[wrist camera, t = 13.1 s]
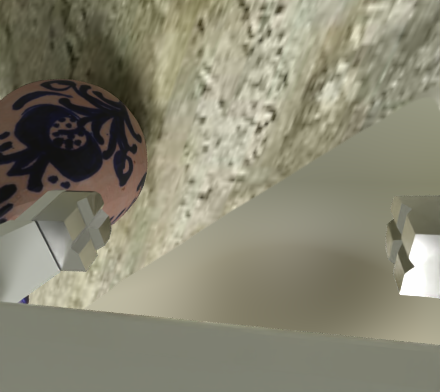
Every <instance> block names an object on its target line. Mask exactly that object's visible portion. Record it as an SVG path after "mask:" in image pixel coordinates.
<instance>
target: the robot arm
mask: <svg viewBox="0 0 440 392" xmlns="http://www.w3.org/2000/svg"><path fill="white" fill-rule="evenodd" d="M103 206H104V201H103V199H102V197H101V194H99V193H98V192H96V191H72V190H67V191H66V190H52V191H48V192H47V193H45V194H44V195H43V196H42V197H41V198H40V199H38V200H37V201H36V202H35V203H34V204H33V205H32V206H30V207H29V208H28V209H27V210H26V211H25V212H24V213H22V214H21V215H20V216H19V217H18V218H17V219H15V220H9V221H7V222H5V223H2V224H0V392H440V345H435V344H425V343H413V342H404V341H394V340H383V339H373V338H363V337H353V336H343V335H333V334H323V333H313V332H304V331H294V330H283V329H274V328H263V327H254V326H245V325H235V324H225V323H214V322H204V321H194V320H184V319H173V318H164V317H154V316H144V315H133V314H123V313H113V312H103V311H93V310H83V309H73V308H63V307H53V306H43V305H33V304H23V303H18V302H19V301H20V300H22V299H23V298H25V297H26V296H27V295H29V294H30V293H32V292H33V291H34V290H36V289H37V288H39V287H40V286H41V285H43V284H44V283H46V282H47V281H48V280H50V279H51V278H53V277H54V276H55V275H57V274H58V273H60V271H83V272H86V271H87V270H88V268H89V267H90V266H91V264H92V263H93V261H94V260H95V259H96V257H97V256H98V255H97V250H98V249H100V248H101V247H103V246H105V244H106V243H107V241H108V240H109V238H110V234H111V221H110V218H109V215H107V214H106V213H105V212H104V211H103V210H102V208H103ZM391 213H392V216H393V218H394V219H393V220H392V221H390V222H389V223H388V224H387V231H386V251H387V255H388V259H389V260H390V261H391V262H392V263H394V264H395V267H394V271H393V275H394V278H395V280H396V284H397V287H398V290H399V293H400V294H404V295H414V296H424V297H434V298H440V196H394V199H393V201H392V205H391Z"/></svg>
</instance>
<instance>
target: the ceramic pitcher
mask: <svg viewBox="0 0 440 392" xmlns="http://www.w3.org/2000/svg"><path fill="white" fill-rule="evenodd" d="M146 174H147V149H146V143H145V139H144V136H143V133H142V131H141V128H140V126H139V124H138V122H137V120H136V119H135V117H134V116H133V115H132V113H131V112H130V111H129V109H128V108H127V107H126V106H125V105H124V104H123V103H122V102H121V101H120V100H119V99H117V98H116V97H115V96H114V95H113V94H111V93H109V92H108V91H106V90H104V89H102V88H101V87H99V86H96V85H92V84H89V83H86V82H82V81H77V80H68V79H53V80H41V81H37V82H33V83H29V84H26V85H24V86H22V87H20V88H18V89H15V90H14V91H12V92H11V93H9V94H8V95H7V96H5V97H4V98H3V99H2V100H0V224H2V223H5V222H7V221H9V220H15V219H17V218H18V217H19V216H20V215H21V214H22V213H24V212H25V211H26V210H27V209H28V208H29V207H30V206H32V205H33V204H34V203H35V202H36V201H37V200H38V199H40V198H41V197H42V196H43V195H44V194H45V193H47V192H48V191H52V190H66V191H67V190H72V191H96V192H98V193H99V194H101V197H102V199H103V201H104V206H103V208H102V210H103V211H104V212H105V213H106V214H107V215H109V218H110V221H111V225H113V224H114V223H115V222H116V221H117V220H118V219H120V218H121V217H122V216H123V215H124V214H125V213H126V212H127V211H128V209H129V208H130V207H131V206H132V204H133V203H134V202H135V201H136V199H137V197H138V196H139V194H140V192H141V190H142V188H143V186H144V182H145V178H146ZM18 303H23V304H28V303H29V295H27V296H26V297H25V298H23V299H22V300H20V301H19V302H18Z"/></svg>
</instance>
